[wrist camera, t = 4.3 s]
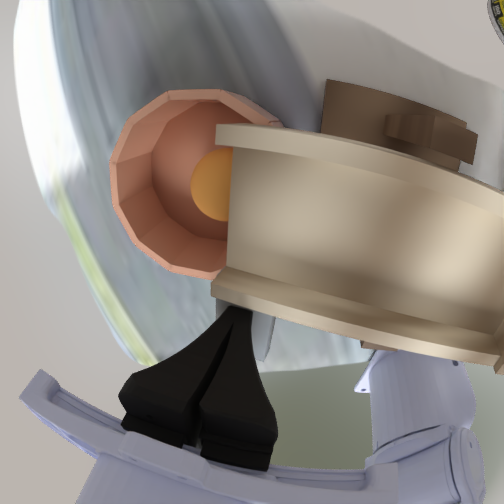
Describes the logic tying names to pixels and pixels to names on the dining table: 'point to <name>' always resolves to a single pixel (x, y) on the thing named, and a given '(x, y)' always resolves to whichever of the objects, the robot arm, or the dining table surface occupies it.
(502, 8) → the pill bottle
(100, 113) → the dining table surface
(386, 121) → the lever stand
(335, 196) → the beige curved piece
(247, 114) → the cup
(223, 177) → the ball
